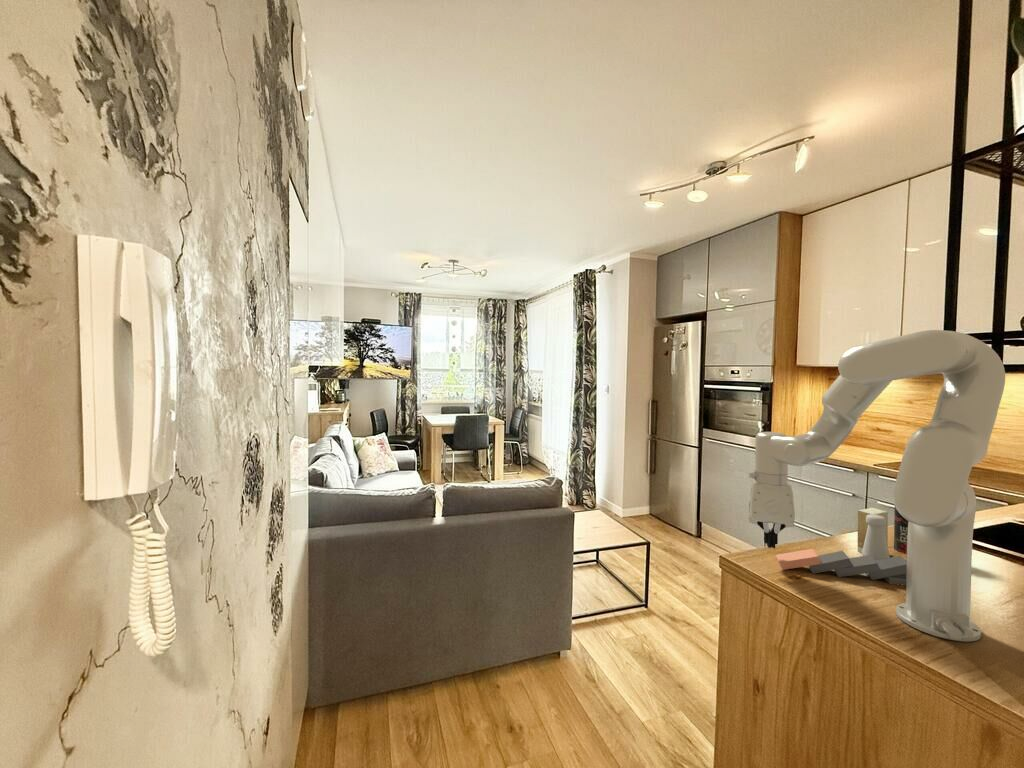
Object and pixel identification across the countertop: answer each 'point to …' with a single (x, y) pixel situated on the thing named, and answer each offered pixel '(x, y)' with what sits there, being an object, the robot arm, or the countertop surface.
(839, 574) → the tile
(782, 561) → the head tile
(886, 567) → the tile
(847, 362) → the robot arm
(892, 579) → the tile
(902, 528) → the deodorant
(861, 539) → the skincare box
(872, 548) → the salt shaker
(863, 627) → the countertop surface
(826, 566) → the tile
